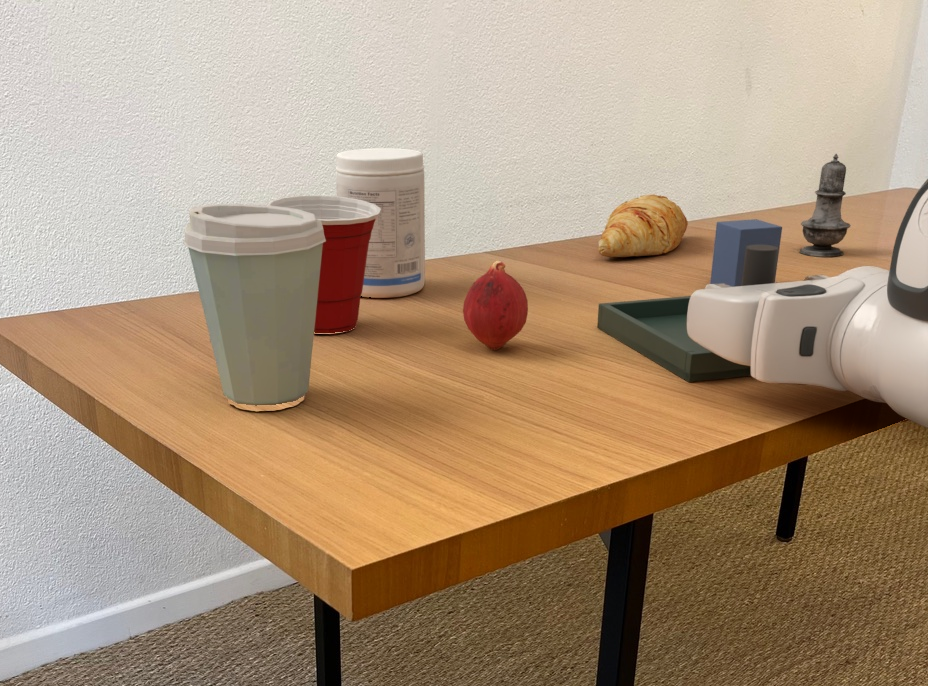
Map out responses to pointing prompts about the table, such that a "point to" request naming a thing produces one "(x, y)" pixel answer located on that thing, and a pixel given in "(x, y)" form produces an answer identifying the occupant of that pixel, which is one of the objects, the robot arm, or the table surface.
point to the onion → (495, 307)
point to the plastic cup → (338, 256)
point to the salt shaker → (827, 213)
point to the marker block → (739, 247)
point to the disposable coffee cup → (258, 296)
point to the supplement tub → (389, 216)
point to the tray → (681, 326)
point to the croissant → (643, 228)
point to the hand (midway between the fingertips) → (762, 288)
